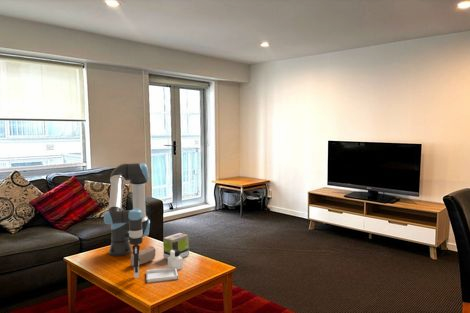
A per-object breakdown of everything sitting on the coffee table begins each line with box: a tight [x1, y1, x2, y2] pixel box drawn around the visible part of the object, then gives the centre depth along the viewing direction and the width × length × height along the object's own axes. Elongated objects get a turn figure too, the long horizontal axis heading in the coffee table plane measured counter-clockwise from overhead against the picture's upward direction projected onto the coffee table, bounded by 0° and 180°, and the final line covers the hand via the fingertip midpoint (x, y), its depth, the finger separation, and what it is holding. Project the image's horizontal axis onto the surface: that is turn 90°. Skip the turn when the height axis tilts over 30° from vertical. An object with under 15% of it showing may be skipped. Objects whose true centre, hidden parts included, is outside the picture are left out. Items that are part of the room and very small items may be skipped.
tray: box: [145, 267, 179, 284], centre depth 206 cm, size 14×18×2 cm
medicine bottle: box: [167, 249, 184, 271], centre depth 218 cm, size 7×7×12 cm
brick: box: [130, 245, 156, 267], centre depth 225 cm, size 17×8×5 cm
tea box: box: [162, 232, 190, 260], centre depth 237 cm, size 15×10×15 cm, turn 141°
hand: (136, 274), depth 202 cm, fingers open, 7 cm apart
